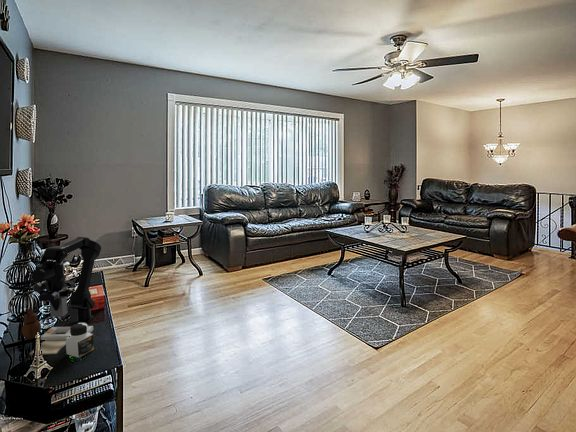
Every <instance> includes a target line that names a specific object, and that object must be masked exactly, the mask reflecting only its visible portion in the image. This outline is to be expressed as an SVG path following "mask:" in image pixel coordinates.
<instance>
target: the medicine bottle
mask: <svg viewBox="0 0 576 432" xmlns="http://www.w3.org/2000/svg"><path fill="white" fill-rule="evenodd" d="M87 326H88V324H87V322H76V323H75V324H72V325H70V326H69V327H70V333H71V336H70V337H67V338H66V344H65V349H66V355H69V356H72V357H74V358H75V357H76V358H77V359H79V358H82V357H83V356H85V355H86V354H88V353H90V352H92V351H93V350H95V347H94V346H95V345H94V333H92V332H91V333H88V329H87Z"/></svg>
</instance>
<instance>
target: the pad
mask: <svg viewBox="0 0 576 432" xmlns="http://www.w3.org/2000/svg"><path fill="white" fill-rule="evenodd" d="M40 344H41V351H42V355H57V354H58V353H59V352H60V351H61V350H62V348H63V347H65V346H66V340H54V341H41V343H40ZM33 353H34V349H33V350H32V351H30V352H29V356H34V355H33Z"/></svg>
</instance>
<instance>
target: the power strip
mask: <svg viewBox="0 0 576 432" xmlns="http://www.w3.org/2000/svg"><path fill="white" fill-rule="evenodd" d="M70 327H71V326H52V327H50V328H49V329H48V330H47V331H45V332H44V334H43V333H42V335H41V336H40V341H41V340H45V341H64V340H66V338H67V337H69V336H70V335H71V333H70ZM87 329H88V333H91V334H92V332H93V331H94V326H93V325H87Z"/></svg>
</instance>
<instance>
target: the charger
mask: <svg viewBox="0 0 576 432" xmlns="http://www.w3.org/2000/svg"><path fill="white" fill-rule="evenodd" d="M59 296H60V294H59ZM67 298H68V296H67V297H66V296H62V297H61V301H60V305H59V308H58V310H57V311H55V310H54V308H53V306H52V304H51V303H50V302H49V309H50V317H51V318H64V317H65V316H66V315H67V314H68V313H69V312H68V300H67Z"/></svg>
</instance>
